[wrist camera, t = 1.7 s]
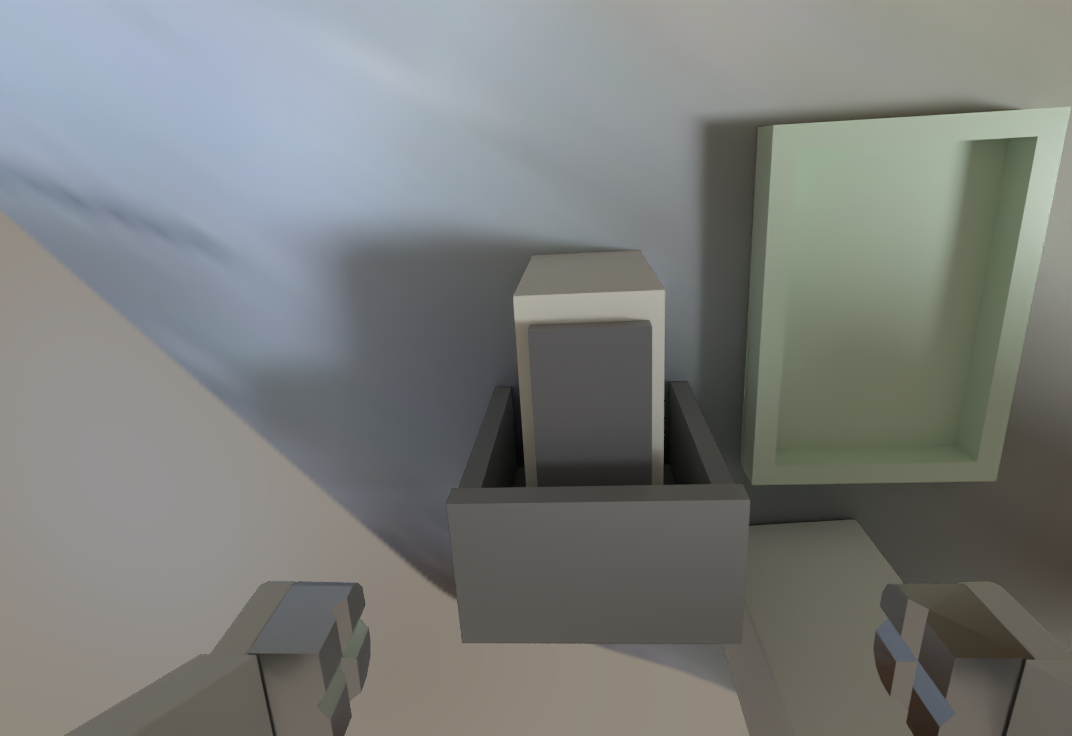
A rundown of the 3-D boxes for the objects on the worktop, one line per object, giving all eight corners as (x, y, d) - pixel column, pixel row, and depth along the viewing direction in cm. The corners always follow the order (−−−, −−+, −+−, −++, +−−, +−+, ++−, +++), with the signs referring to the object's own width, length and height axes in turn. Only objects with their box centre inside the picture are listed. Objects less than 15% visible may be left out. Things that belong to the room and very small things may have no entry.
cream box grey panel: (640, 250, 29) (668, 295, 20) (640, 446, 32) (665, 564, 23) (532, 255, 29) (510, 301, 20) (543, 448, 32) (529, 565, 23)
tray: (1030, 110, 26) (1071, 106, 24) (967, 458, 31) (996, 481, 29) (757, 127, 27) (773, 125, 25) (740, 462, 32) (751, 485, 30)
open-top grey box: (687, 371, 31) (750, 499, 19) (685, 481, 32) (741, 656, 21) (494, 377, 31) (446, 504, 20) (503, 484, 33) (463, 654, 22)
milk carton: (854, 515, 32) (1193, 960, 15) (849, 627, 35) (1137, 1133, 17) (715, 524, 33) (873, 959, 15) (718, 633, 35) (860, 1124, 17)
